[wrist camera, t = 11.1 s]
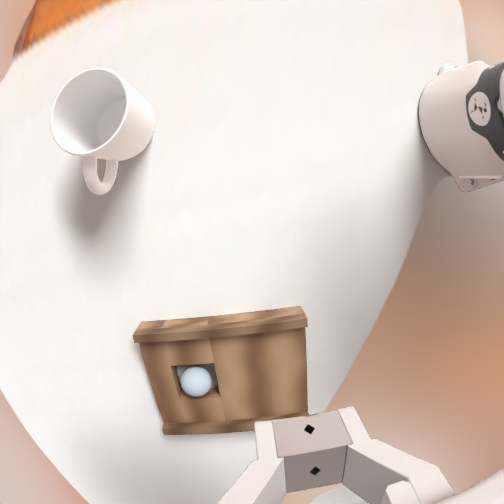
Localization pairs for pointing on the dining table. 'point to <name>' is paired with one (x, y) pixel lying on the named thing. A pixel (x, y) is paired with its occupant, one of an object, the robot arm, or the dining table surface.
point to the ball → (196, 381)
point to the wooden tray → (228, 369)
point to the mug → (101, 123)
